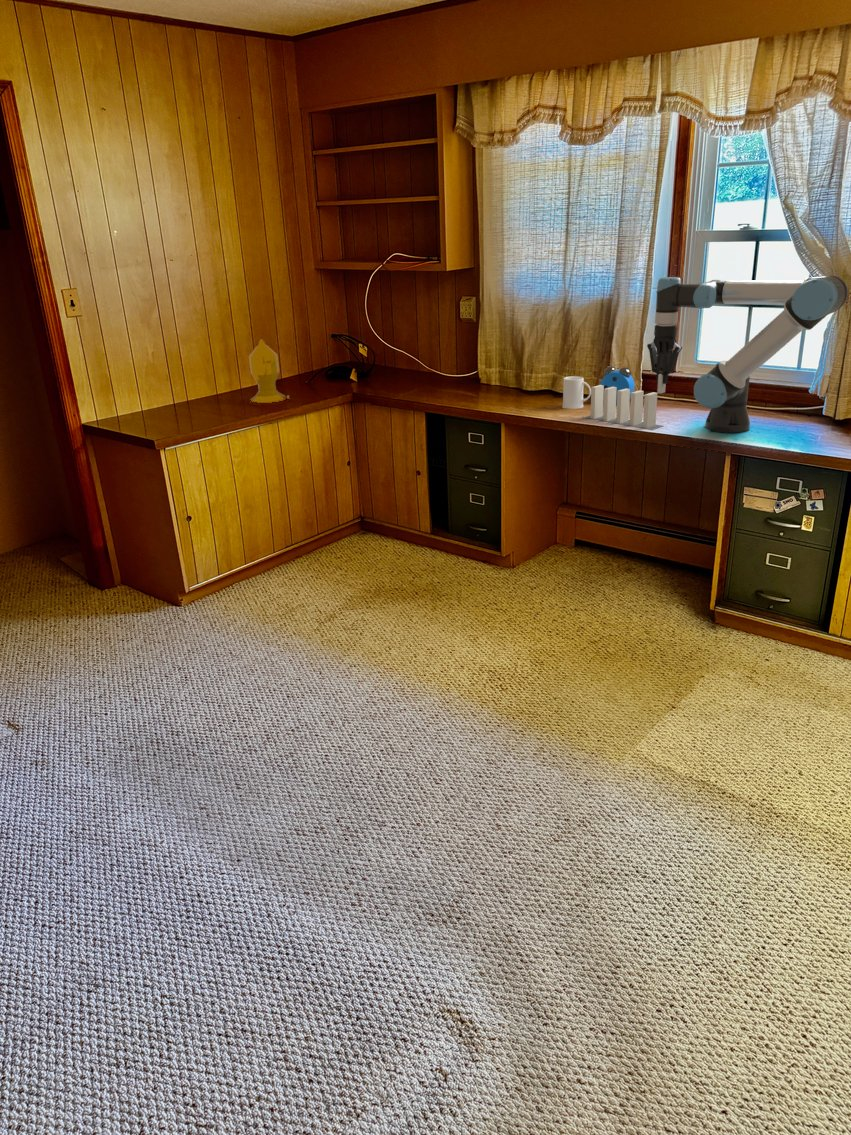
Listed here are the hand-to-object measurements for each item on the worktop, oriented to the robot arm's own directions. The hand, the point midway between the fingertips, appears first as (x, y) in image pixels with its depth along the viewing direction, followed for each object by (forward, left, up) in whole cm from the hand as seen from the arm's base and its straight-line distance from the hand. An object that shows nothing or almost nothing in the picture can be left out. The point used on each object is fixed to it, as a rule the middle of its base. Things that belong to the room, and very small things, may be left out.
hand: (661, 392), depth 300 cm
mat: (+16, 0, -13) cm, 21 cm away
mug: (+46, -10, -14) cm, 49 cm away
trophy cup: (+165, +62, -14) cm, 177 cm away
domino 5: (+4, 0, -13) cm, 14 cm away
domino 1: (+28, 0, -13) cm, 31 cm away
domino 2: (+22, 0, -13) cm, 26 cm away
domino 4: (+10, 0, -13) cm, 16 cm away
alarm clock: (+38, -26, -14) cm, 48 cm away
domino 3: (+16, 0, -13) cm, 21 cm away
